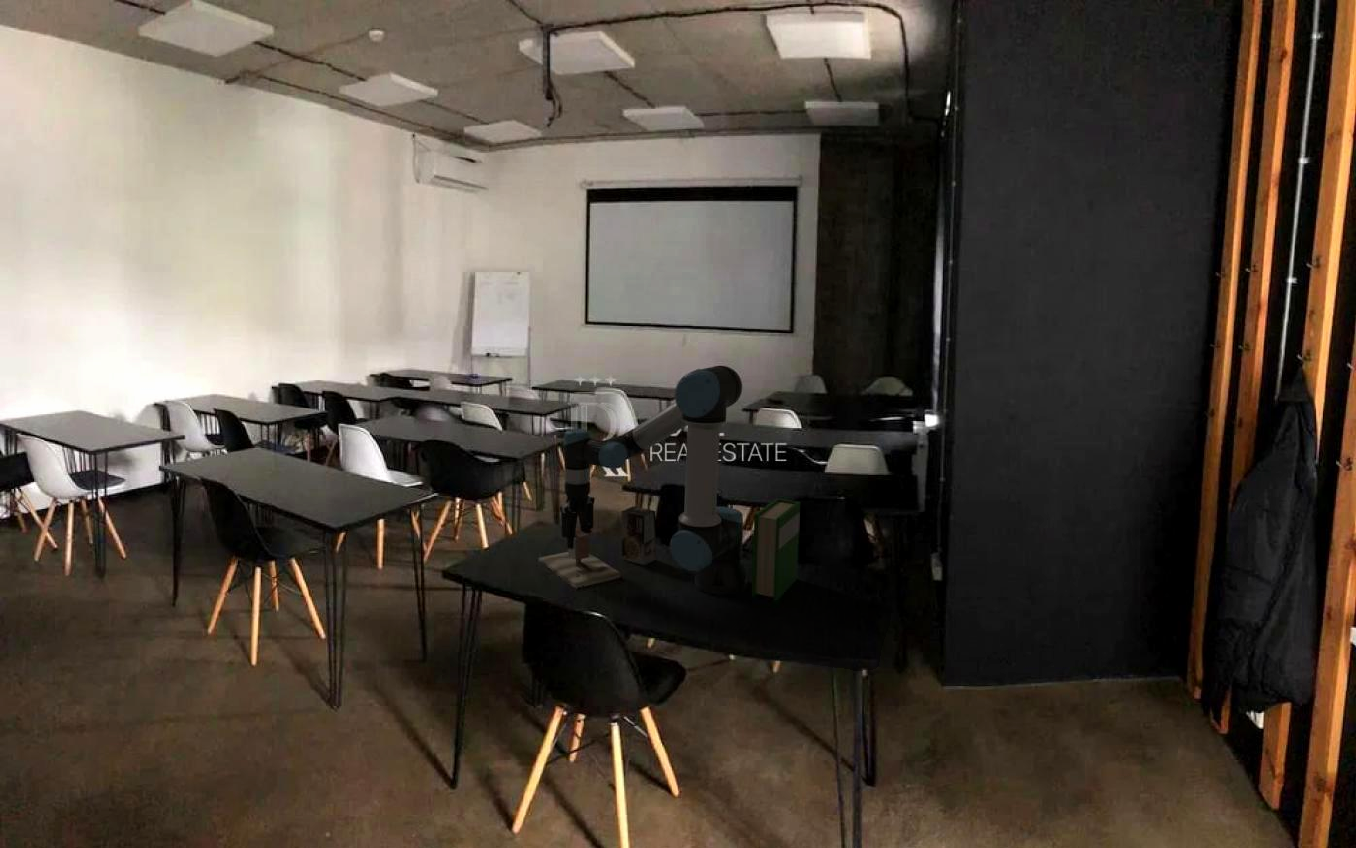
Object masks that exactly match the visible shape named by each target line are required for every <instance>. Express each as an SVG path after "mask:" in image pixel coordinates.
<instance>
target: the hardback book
mask: <svg viewBox="0 0 1356 848" xmlns="http://www.w3.org/2000/svg"><path fill="white" fill-rule="evenodd" d="M800 514H801V501H796V500H789V499H783V498H778V497H776V498H775V499H773V500H772V501H770V502H769V503H768V504H767V505H765V506H764V507H762V509H760V510H759V511H757V512H756V513H754V517H753V518H754V519H753V521H754V522H753V546H752V547H753V549H752V574H751V579H752V580H751V597H754V596H755V597H756V596H757V595H761V596H765V597H771V598H772V600H773V602H774V601H775V602H777V601H778V600H779V599H780V598H781V597H782V596H783V595H784V594H785V593H786V591H788V590H789V588H791V586H792V585H793V584H794V583H795V582H796V581H797V580H798V564H799V563H798V562H799V560H798V559H799V537H800V520H801V519H800V518H801V516H800ZM756 594H757V595H756Z"/></svg>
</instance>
